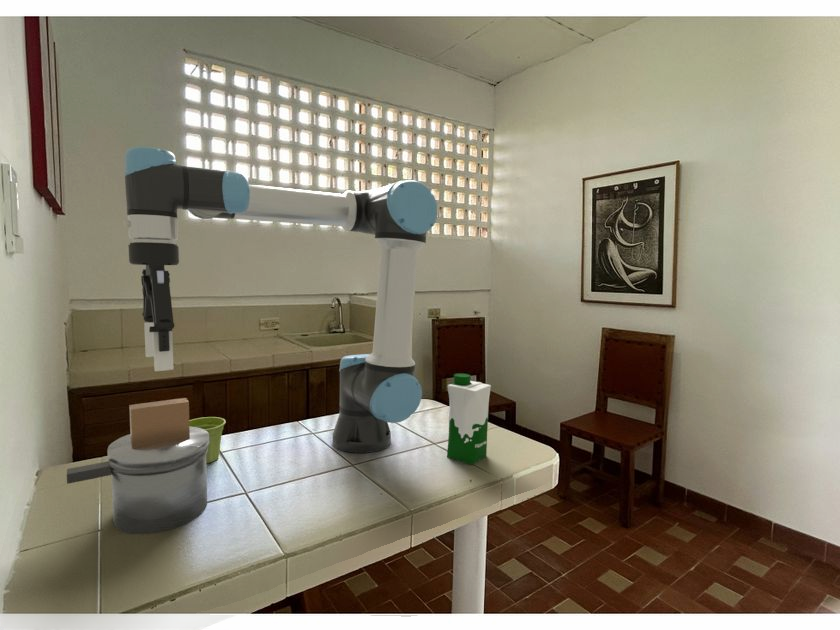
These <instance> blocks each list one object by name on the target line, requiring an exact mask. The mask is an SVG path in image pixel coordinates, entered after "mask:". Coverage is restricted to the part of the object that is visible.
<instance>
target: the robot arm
mask: <svg viewBox="0 0 840 630" xmlns="http://www.w3.org/2000/svg"><path fill="white" fill-rule="evenodd" d="M124 160H125V161H124V182H125V198H126V200H125V201H126V213H127V220H124V221H123V222H122V223H123V224H122V225H123V226H124V227H127V228H128V229H127V232H128V233H127V234H128V238H129V239H130V240H132V242H129V244H128V261H129V263H130V264H131V265H135V266H136V265H137V266H139V265H141V266H145V269H142V271H141V274H142V275H141V276H140V277H141V278H140V281H141V286H142V290H141V291H142V298H143V299H142V314H141V315H142V316H143V320H144V322H143V325H144V327H143V328H144V344H145V345H144V347H145V349H144V350H145V358H153V364H154V365H153V366H154V367H153V369H154V372H161V371H171V370H172V371H173V370H175V369H174V367H175V366H174V344H173V343H174V342H173V340H174V339H173V329H174V328H175V322H174V316H173V315H174V313H173V305H172V297H171V296H172V295H171V287H170V286H171V285H170V284H171V283H170V282H171V280H170V279H171V278H170V275H171V274H170V273H169V270H165V266H177V265H178V264H179V263H180V256H179V255H180V251H179V246H178V244H175V243H176V242H177V241H178V240H179V218H178V210H187V211H188V212H189V213H190V214H191V215H192V216H194V217H197V218H198V219H202V220H203V219H204V220H210V219H211V220H212V219H225V220H227V219H228V220H230V219H231V220H241V221H242V220H245V221H258V222H259V221H260V222H270V223H271V222H272V223H287V224H299V225H301V224H302V225H313V226H315V225H316V226H329V227H330V226H332V227H342V229H343V230H344V231H345V232H354V233H361V234H367V235H368V234H369V235H374V241H375V243H376V244H377V245H378V246H379V248H380V253H379V264H378V265H379V266H378V278H377V279H378V280H377V292H376V303H375V317H374V329H373V331H374V332H373V341H372V345H373V346H372V352H371V353H366V354H364V353H363V354H362V353H361V354H350V355H345V356H343V357H342V358H341V359H340V362H339V369H338V371H339V413H338V417H337V420H336V424H335V426H334V429H333V432H332V439H331V440H332V442H331V443H332V446H333V447H335V448H336V449H337V450H340V451H343V452H348V453H353V454H354V453H355V454H356V453H358V454H360V453H361V454H362V453H373V452H377V451H381V450H384V449H385V448H387V447H389V445H390V444H391V442H392V432H391V430H390V426H389V423H390V424H398V423H401V422H404V421H407V420H408V419H409V418H410V417H411V415H413V414H414V413H415V412H416V411H417V410H418V408H419V406H420V404H421V400H422V397H423V396H422V395H423V391H422V390H423V389H422V386H421V384H420V382H419V380H418V379H417V378H416V377H415V373H416V372H415V371H416V370H415V369H416V361H415V360H414V359H413V358H412V357H411V355H410V353H411V343H412V341H411V340H412V329H413V317H414V304H415V292H416V282H417V271H418V269H417V268H418V259H419V251H420V250H422V249H423V248H424V247H425V246H426V243H427V234H428V233H427V232H428V231H430V230H431V229H432V227H434V226H435V224H436V222H437V219H438V215H439V213H438V212H439V208H438V203H437V200H436V197H435V195H434V194H433V193H432V191H431V190H430V188H429V187H428V186H427V185H425V184H424V183H422V182H420V181H418V180H411V179H410V180H399V181H396V182H394V183H392V184H391V183H390V184H388V185H384V186H382V187H378V188H374V189H369V190H361V191H360V190H359V191H357V190H356V191H355V190H346V191H345V192H344V193H342V194H341V193H334V192H323V191H315V190H314V191H313V190H304V189H294V188H287V187H286V188H284V187H275V186H267V185H259V184H258V185H257V184H250V182H249V179H248V177H247V175H245V173H242V172H236V171H231V170H229V169H226V170H225V169H224V170H222V169H213V168H203V167H194V166H185V165H181V164H178V163H177V161H176V155H175V154H174V153H173V152H171V151H169V150H166V149H160V148H157V147H151V146H147V147H146V146H136V147H130V148H129V149H128V150H127V151H126V152H125V154H124Z"/></svg>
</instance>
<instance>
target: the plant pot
mask: <svg viewBox="0 0 840 630" xmlns="http://www.w3.org/2000/svg"><path fill="white" fill-rule="evenodd" d="M226 423H227V422H226V419H225V418H222V417H217V416H207V417H198V418H193V419H189V426H191V427H198V428H201V429H204V430H206V431H207V432H208V433H209V445H208V452H207V454H206V464H210V463H213V462H215V461H216V460H218V459H219V457H220V451H221V442H222V441H221V440H222V434H223V430H224V426H225V425H226Z"/></svg>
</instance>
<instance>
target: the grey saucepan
mask: <svg viewBox="0 0 840 630" xmlns="http://www.w3.org/2000/svg"><path fill="white" fill-rule="evenodd" d="M207 452H208V446H207V447H206V448H205V449H204V450H203V451H201V452H199V453H198V454H195V455H193V456H191V457H188V458H185V459H182V460H179V461H175V462H171V463H166V464H160V465H153V466H123V465H118V464H115V463H113V462H111V461H110V460H109V459H108V461H103V462H98V463H93V464H86V465H81V466H75V467H71V468H70V467H69V468H67V469H66V485H68V484H74V483H77V482H78V483H79V482H83V481H88V480H94V479H97V478H103V477H108V476H111V494H112V496H111V499H112V519H113V520H112V522H113V525H114V527H115V528H116V530H118V531H120V532H122V533H126V534H130V535H131V534H133V535H145V534H146V535H147V534H148V535H149V534H154V533H160V532H164V531H168V530H169V531H170V530H172V529H176V528H178V527H181V526H183V525H185V524H188V523H190V522H192V521H193V520H195V519H197V518H198V517H199V516H200V515H201V514H202V513H204V511H205V510H206V508H207V506H208V482H207V479H208V478H207V477H208V475H207V463H206V454H207Z"/></svg>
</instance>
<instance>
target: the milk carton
mask: <svg viewBox="0 0 840 630" xmlns="http://www.w3.org/2000/svg"><path fill="white" fill-rule="evenodd" d="M471 376H472V375H470V374H468V373H461V372H459V373H454V374H453V382H452V383H450V384H447V392H448V398H449V411H448V412H449V416H448V418H449V419H448V438H447V439H448V440H447V451H446V457H447V458H448V459H451V460H456V461H459V462H462V463H465V464H467V465H471V466H472V465H474V464H476V463H477V462H479V461H481V460H482V459H484V458H485V457H487V451H488V449H487V448H488V447H487V446H488V428H489V427H488V424H489V402H490V395H491V388H492V385H491V384H487V383H483V382H481V381H474V380H471Z"/></svg>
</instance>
